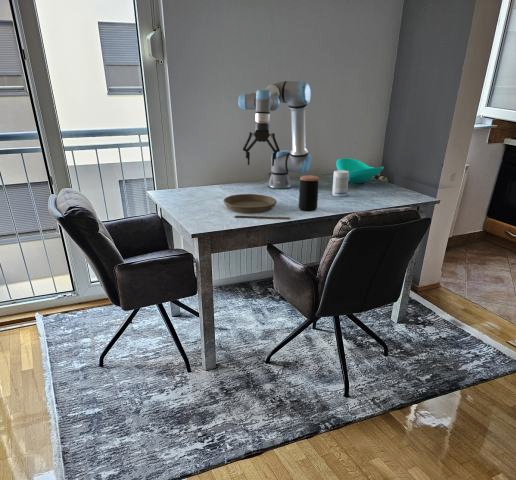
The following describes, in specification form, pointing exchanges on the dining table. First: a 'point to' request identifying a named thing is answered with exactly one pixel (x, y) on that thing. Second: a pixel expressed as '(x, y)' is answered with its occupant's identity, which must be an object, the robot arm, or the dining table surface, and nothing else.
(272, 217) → the walnut ruler
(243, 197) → the plant saucer
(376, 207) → the dining table surface
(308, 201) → the coffee jar
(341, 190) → the supplement tub
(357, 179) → the table top decor
